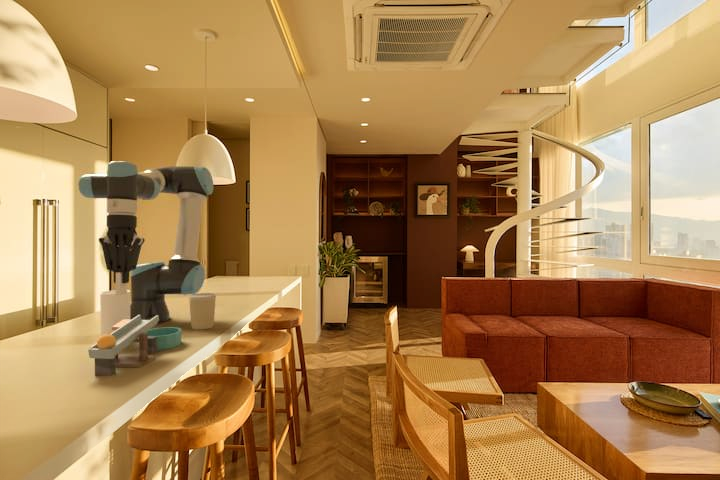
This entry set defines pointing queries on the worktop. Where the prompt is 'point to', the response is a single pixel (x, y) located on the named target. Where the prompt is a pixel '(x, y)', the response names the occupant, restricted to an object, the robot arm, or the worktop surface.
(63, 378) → the worktop surface
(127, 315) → the cup
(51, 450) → the worktop surface
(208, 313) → the coffee cup
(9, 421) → the worktop surface
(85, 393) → the worktop surface
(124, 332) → the lever
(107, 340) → the ball
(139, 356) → the stand
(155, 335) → the dish
